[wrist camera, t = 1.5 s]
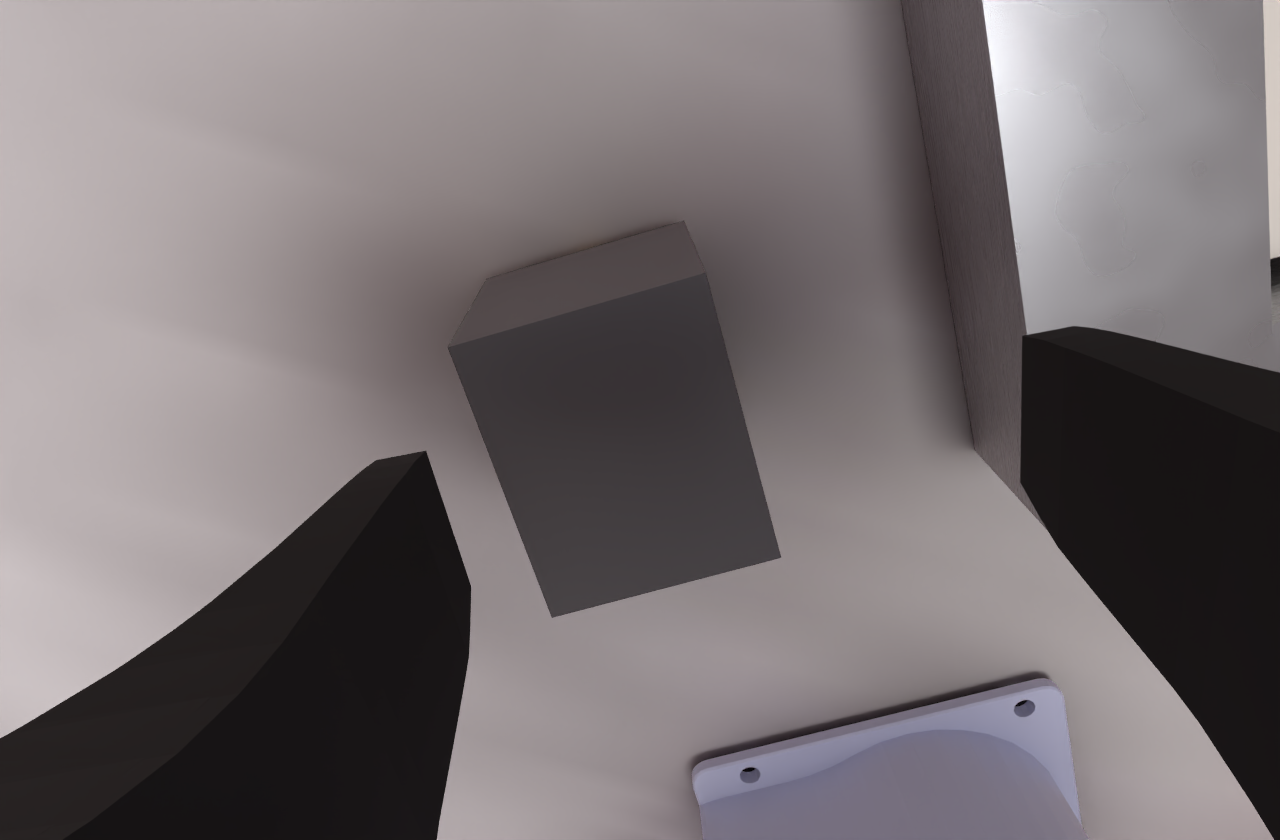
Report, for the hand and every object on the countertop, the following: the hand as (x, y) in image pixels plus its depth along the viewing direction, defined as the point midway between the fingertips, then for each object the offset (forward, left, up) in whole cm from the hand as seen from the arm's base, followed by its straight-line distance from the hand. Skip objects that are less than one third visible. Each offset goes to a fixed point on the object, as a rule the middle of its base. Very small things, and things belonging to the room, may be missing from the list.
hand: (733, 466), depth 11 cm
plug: (-2, -1, -9) cm, 9 cm away
